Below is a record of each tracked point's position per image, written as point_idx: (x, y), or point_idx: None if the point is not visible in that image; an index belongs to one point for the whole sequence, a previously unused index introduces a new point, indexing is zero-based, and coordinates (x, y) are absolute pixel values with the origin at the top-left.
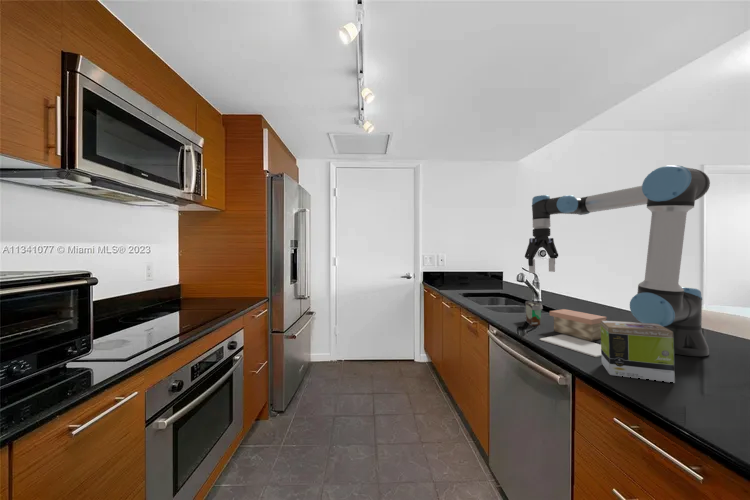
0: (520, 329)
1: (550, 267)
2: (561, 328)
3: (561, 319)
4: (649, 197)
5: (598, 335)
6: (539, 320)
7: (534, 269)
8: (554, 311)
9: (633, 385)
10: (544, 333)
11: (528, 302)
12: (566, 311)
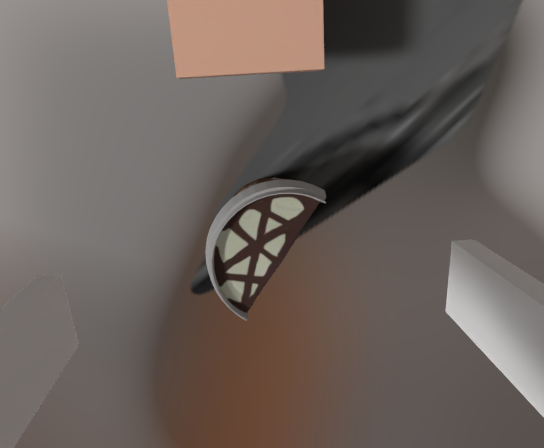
0: (401, 154)
1: (44, 359)
2: None
3: None
4: None
5: None
6: (258, 182)
7: (496, 259)
8: (303, 47)
9: None
10: (362, 54)
11: (234, 308)
12: (232, 10)
